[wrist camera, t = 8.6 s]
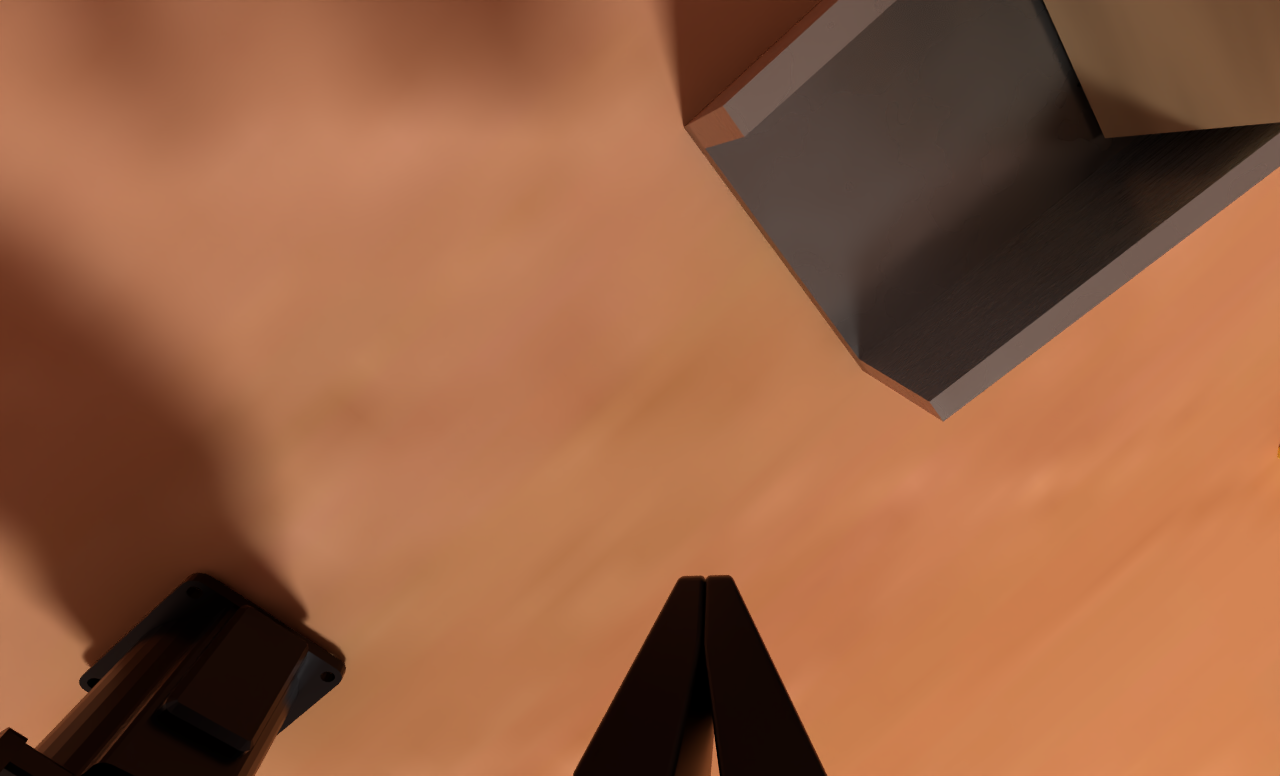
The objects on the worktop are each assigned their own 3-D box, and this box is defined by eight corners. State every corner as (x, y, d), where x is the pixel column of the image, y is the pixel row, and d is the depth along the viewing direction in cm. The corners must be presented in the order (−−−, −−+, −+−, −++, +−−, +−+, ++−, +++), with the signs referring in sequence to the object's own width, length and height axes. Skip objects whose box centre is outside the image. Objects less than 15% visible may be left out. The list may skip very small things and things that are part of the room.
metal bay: (862, 370, 20) (943, 421, 15) (683, 127, 16) (722, 106, 12) (1398, -55, 17) (1679, -137, 13) (1312, -452, 14) (1654, -747, 9)
